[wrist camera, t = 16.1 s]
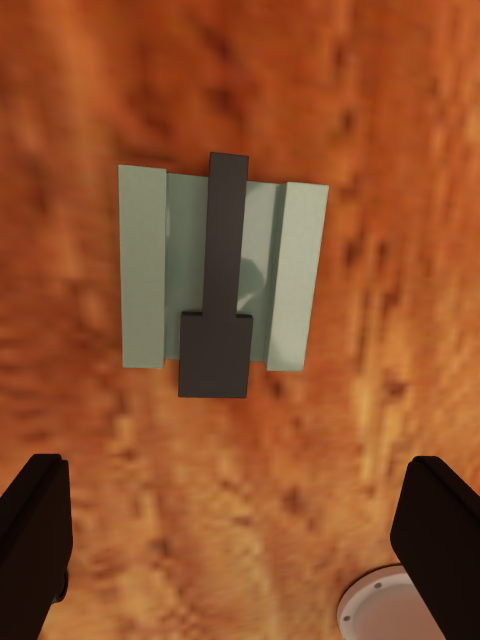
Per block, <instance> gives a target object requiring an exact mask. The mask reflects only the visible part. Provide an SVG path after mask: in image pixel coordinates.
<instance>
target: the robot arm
mask: <svg viewBox="0 0 480 640" xmlns="http://www.w3.org/2000/svg"><path fill="white" fill-rule="evenodd" d="M390 541H391V545H392V548H393V550H394V552H395V554H396V555H397V557H398V559H399V560H400V562H401V564H402V565H401V566H391V567H386V568H382V569H380V570H377V571H374V572H372V573H370V574H368V575H366V576H364V577H363V578H361V579H360V580H358V581H357V582H356V583H355V584H354V585H352V586H351V587H350V588H349V589H348V591H347V592H346V593H345V594H344V596H343V597H342V599H341V601H340V603H339V606H338V609H337V623H338V626H339V629H340V632H341V634H342V637H343V638H344V639H345V640H480V497H479V496H478V495H477V494H476V493H475V492H474V491H473V490H472V489H471V488H470V487H469V486H468V485H467V484H466V483H465V482H464V481H463V480H462V479H461V478H460V477H459V476H458V475H457V474H456V473H455V472H454V471H453V470H452V469H451V468H450V467H449V466H448V465H447V464H446V463H445V462H444V461H443V460H442V459H440V458H439V457H436V456H416V457H414V458H413V460H412V462H410V463H409V464H408V466H407V470H406V474H405V478H404V482H403V486H402V490H401V494H400V498H399V502H398V506H397V509H396V513H395V517H394V521H393V525H392V529H391V533H390ZM72 547H73V535H72V517H71V500H70V482H69V465H68V461H67V460H62V458H61V455H60V454H34V455H33V456H32V457H31V458H30V459H29V461H28V462H27V463H26V465H25V466H24V467H23V468H22V470H21V471H20V472H19V474H18V475H17V476H16V478H15V479H14V480H13V482H12V483H11V484H10V486H9V487H8V488H7V489H6V491H5V492H4V493H3V495H2V496H1V497H0V640H37V638H38V636H39V633H40V631H41V628H42V626H43V623H44V621H45V618H46V616H47V614H48V611H49V609H50V606H51V604H52V601H53V599H54V596H55V594H56V592H57V589H58V587H59V584H60V582H61V579H62V577H63V574H64V572H65V570H66V567H67V565H68V562H69V560H70V557H71V553H72Z"/></svg>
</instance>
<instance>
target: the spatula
mask: <svg viewBox="0 0 480 640" xmlns="http://www.w3.org/2000/svg"><path fill="white" fill-rule="evenodd" d="M248 160H249V156H242V155H233V154H224V153H215V152H211V153H210V160H209V179H208V200H207V221H206V241H205V262H204V282H203V303H202V312H181V324H180V356H179V389H178V397H197V398H246V395H247V384H248V374H249V363H250V352H251V342H252V331H253V320H254V318H253V316H252V315H245V314H236V313H237V300H238V287H239V275H240V262H241V249H242V236H243V224H244V211H245V198H246V185H247V173H248Z"/></svg>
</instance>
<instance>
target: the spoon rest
mask: <svg viewBox="0 0 480 640" xmlns="http://www.w3.org/2000/svg"><path fill="white" fill-rule="evenodd" d="M208 179H209V177H204V176H193V175H183V174H173V173H168V171H167V170H166V169H161V168H151V167H141V166H130V165H120V164H119V165H118V181H119V226H120V270H121V315H122V359H123V367H128V368H164V364H165V360H166V359H179V356H180V324H181V312H202V303H203V282H204V262H205V241H206V221H207V200H208ZM328 190H329V185H320V184H310V183H300V182H290V181H287V182H285V183H283V184H275V183H265V182H254V181H247V185H246V198H245V211H244V224H243V236H242V249H241V262H240V275H239V287H238V300H237V313H236V314H245V315H252V316H253V318H254V320H253V331H252V342H251V352H250V361H258V362H263V363H264V365H265V368H266V370H267V371H303V367H304V360H305V353H306V346H307V339H308V332H309V325H310V318H311V311H312V304H313V296H314V289H315V282H316V275H317V268H318V261H319V254H320V247H321V240H322V233H323V226H324V219H325V211H326V204H327V197H328Z"/></svg>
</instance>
